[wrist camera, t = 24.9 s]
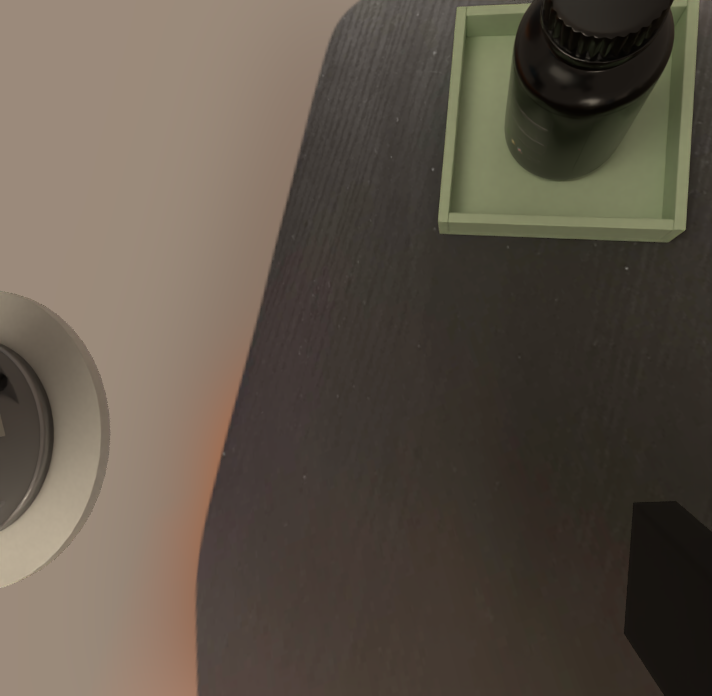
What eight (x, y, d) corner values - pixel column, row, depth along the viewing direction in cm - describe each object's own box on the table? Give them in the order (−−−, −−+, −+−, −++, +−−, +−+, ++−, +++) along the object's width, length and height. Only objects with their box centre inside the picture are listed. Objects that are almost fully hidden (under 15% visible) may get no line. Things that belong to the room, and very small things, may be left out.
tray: (439, 234, 33) (437, 221, 31) (457, 33, 34) (456, 6, 32) (668, 242, 31) (686, 230, 28) (681, 25, 32) (700, -6, 29)
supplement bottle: (583, 53, 32) (652, -142, 20) (644, 145, 31) (755, -5, 19) (481, 114, 33) (491, -38, 21) (537, 205, 32) (580, 98, 20)
